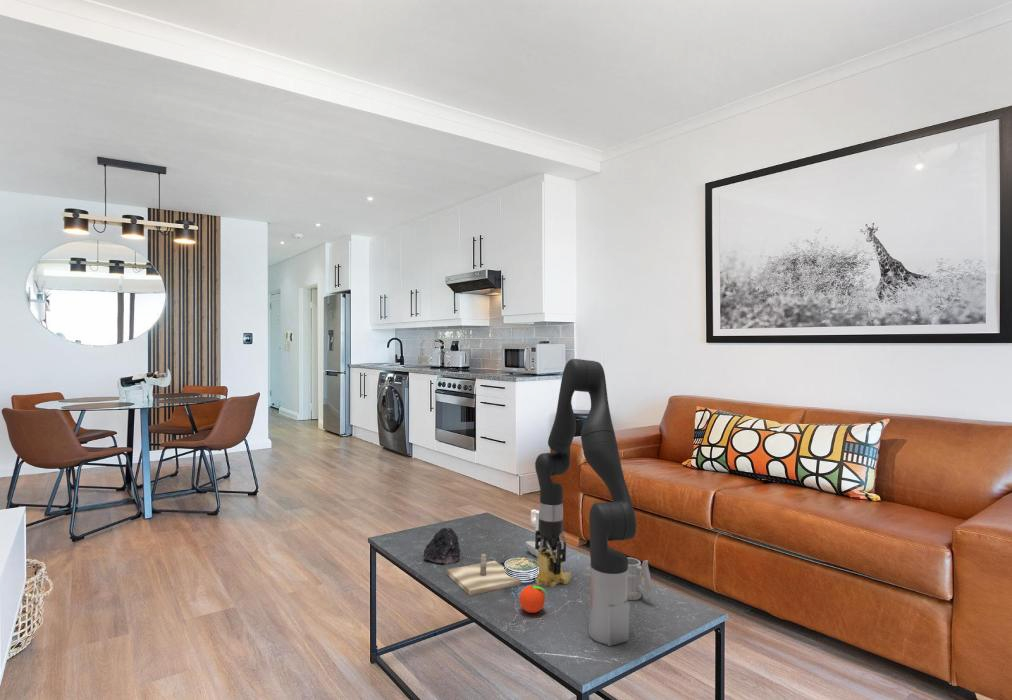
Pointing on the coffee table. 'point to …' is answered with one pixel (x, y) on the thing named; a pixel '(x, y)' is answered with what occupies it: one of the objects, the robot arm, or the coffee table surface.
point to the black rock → (443, 547)
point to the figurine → (535, 523)
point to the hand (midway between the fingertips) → (549, 569)
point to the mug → (638, 579)
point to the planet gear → (549, 571)
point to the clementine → (532, 598)
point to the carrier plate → (482, 577)
